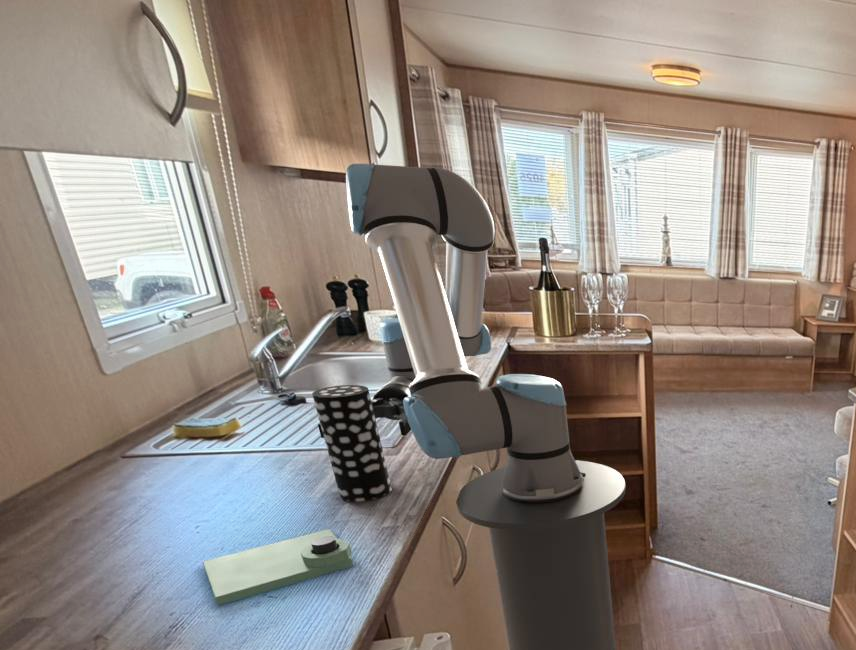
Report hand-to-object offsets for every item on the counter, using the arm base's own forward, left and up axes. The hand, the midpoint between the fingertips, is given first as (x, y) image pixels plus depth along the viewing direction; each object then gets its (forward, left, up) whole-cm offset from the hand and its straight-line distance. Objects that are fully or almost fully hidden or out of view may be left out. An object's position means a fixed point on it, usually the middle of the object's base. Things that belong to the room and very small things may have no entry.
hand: (362, 430), depth 122 cm
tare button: (+14, +30, -8) cm, 34 cm away
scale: (+20, +26, -11) cm, 35 cm away
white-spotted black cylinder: (+3, +4, -11) cm, 12 cm away
